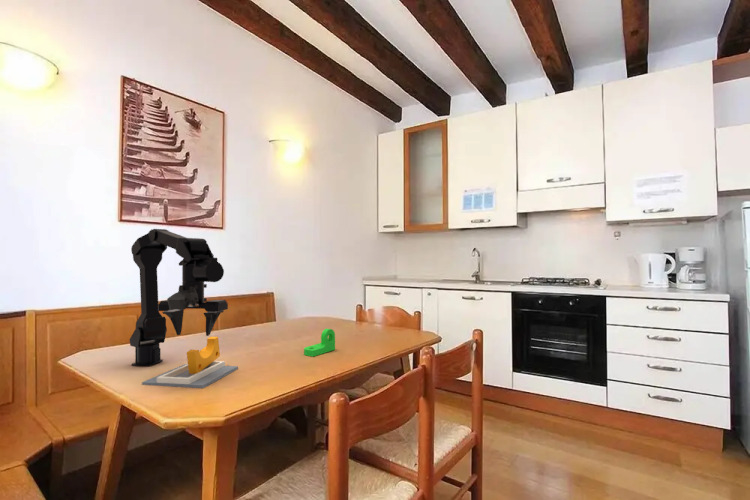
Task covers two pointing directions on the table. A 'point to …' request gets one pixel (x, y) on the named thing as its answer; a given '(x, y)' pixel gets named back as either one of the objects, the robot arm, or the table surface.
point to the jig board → (192, 376)
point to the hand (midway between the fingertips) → (193, 335)
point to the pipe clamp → (203, 356)
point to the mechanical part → (322, 344)
